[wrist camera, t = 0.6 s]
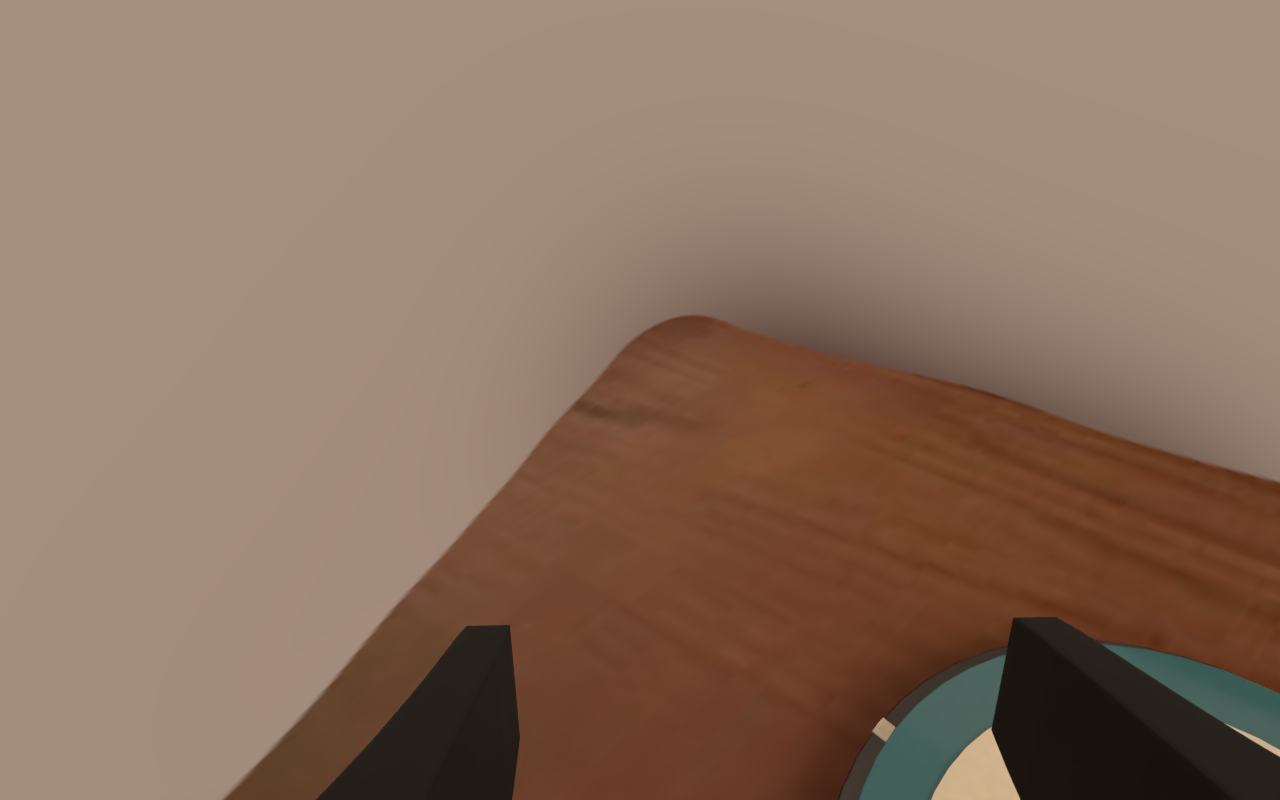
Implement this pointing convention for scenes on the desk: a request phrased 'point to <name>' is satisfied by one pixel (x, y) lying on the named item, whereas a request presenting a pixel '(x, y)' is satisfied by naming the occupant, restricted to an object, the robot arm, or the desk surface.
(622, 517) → the desk surface
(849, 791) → the stand
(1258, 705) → the turntable with peg
